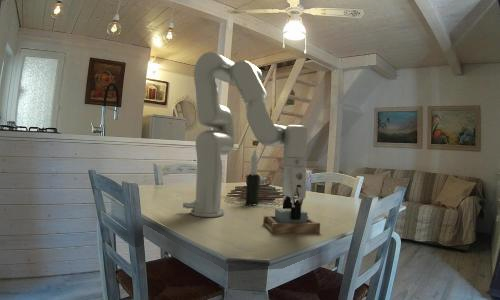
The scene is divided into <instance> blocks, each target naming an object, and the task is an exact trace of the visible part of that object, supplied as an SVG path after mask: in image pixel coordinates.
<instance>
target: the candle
mask: <svg viewBox="0 0 500 300" xmlns="http://www.w3.org/2000/svg"><path fill="white" fill-rule="evenodd" d="M250 159H251V160H250V161H251V162H250V173H249V174H248V175H247V176H246V193H245V194H246V195H245V205H248V204H257V205H259V201H260V200H259V199H260V185H261V184H260V181H261V176H260V175H259V174H258V159H259V157H258V155H257V149H254V150H253V154H252V155H251V158H250Z"/></svg>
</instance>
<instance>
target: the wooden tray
mask: <svg viewBox="0 0 500 300" xmlns="http://www.w3.org/2000/svg"><path fill="white" fill-rule="evenodd" d="M262 225H263V226H264V227H265V228H266V229H267V230H268V231H269V232H270V233H271V234H272V235H273V234H274V235H275V234H277V235H278V234H310V233H311V234H319V233H321V231H320V230H321V222H316V221H314V220H312V219H311V218H309V215H307V223H277V222H276V221H275V215H263V223H262Z"/></svg>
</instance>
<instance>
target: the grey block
mask: <svg viewBox="0 0 500 300" xmlns="http://www.w3.org/2000/svg"><path fill="white" fill-rule="evenodd" d="M274 216H275V221H276V222H277V223H307V216H308V212H307V211H305V210H303V209H302V208H301V218H300V220H291V209H287V208H283V207H281V208H280V207H278V208H274Z"/></svg>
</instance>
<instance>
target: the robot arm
mask: <svg viewBox="0 0 500 300" xmlns="http://www.w3.org/2000/svg"><path fill="white" fill-rule="evenodd" d="M216 79H217V80H220V81H222V82H224V83H228V84H231V85H235V87H236V89H237V90H238V91H237V92H239V95H240V97H241V98H242V101H243V102H244V105H245V114H246V119H247V120H246V121H247V122H248V125H249V127H250V129H251V131H252V134H253V136H254V137H255V139H256V140H257V141H258V143H259V144H261V145H262V146H265V147H283V153H282V154H283V155H282V167H283V172H282V182H281V184H282V185H281V192H282V197H283V198H282V201H283V202H282V208H287V209H291V220H300V218H301V209H302V207H303V201H304V199H305V198H306V193H307V191H306V190H307V177H306V175H307V174H306V167H307V166H306V165H307V151H308V150H307V149H308V148H307V147H308V146H307V145H308V133H309V132H308V131H309V130H308V127H306V126H305V125H299V124H297V125H296V124H288V125H286V126H285V125H280V124H276V123H274V122H273V120H272V119H271V117H270V114H269V112H268V110H267V107H266V101H267V99H268V93H267V91H266V89H265V88H264V86H263V84H262V82H263V74H262V71H261V69H259V67H257V66H256V65H255V64H252V63H251V62H250V61H248V60H238V61H233V60H230V59H229V58H227V57H225V56H224V55H222V54H220V53H218V52H213V51H207V52H204V53H203V54H202V55H201V56H199V58H198V59H197V61H196V62H195V65H194V69H193V81H194V87H195V96H196V97H195V99H196V113H197V121H198V123H199V124H200V125H201V126H203V127H208V128H212V129H211V130H210V129H209V130H208V129H207V130H203V131H202V132H200V133H199V134H198V135H197V137H196V140H195V151H196V181H195V182H196V184H195V185H196V186H195V199H194V200H193V201H191V202H182V208H183V209H190V214H191V215H193V216H196V217H199V218H200V217H202V218H217V217H221V216H223V215H225V210H224V209H222V208H221V201H222V197H221V196H222V186H223V185H222V184H223V183H222V181H223V180H222V179H223V162H222V157H221V156H227V155H228V154H230V153H232V151H233V150H234V147H235V130H234V119H233V114H232V112H231V111H230V109H229V108H228V107H227V106H225V105H222V104H221V103H220V96H219V88H218V85H217V83H216Z"/></svg>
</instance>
